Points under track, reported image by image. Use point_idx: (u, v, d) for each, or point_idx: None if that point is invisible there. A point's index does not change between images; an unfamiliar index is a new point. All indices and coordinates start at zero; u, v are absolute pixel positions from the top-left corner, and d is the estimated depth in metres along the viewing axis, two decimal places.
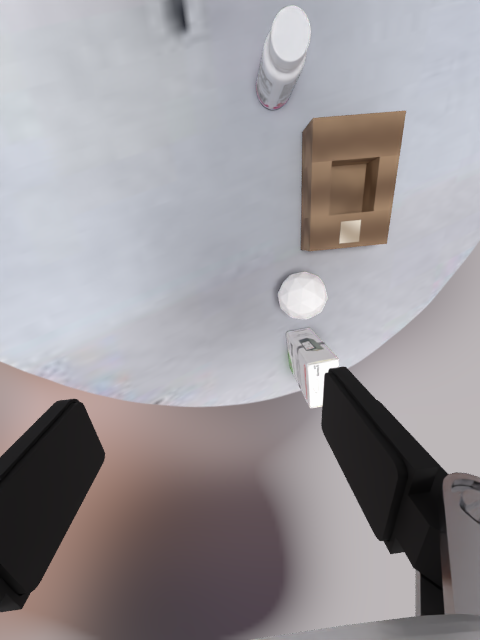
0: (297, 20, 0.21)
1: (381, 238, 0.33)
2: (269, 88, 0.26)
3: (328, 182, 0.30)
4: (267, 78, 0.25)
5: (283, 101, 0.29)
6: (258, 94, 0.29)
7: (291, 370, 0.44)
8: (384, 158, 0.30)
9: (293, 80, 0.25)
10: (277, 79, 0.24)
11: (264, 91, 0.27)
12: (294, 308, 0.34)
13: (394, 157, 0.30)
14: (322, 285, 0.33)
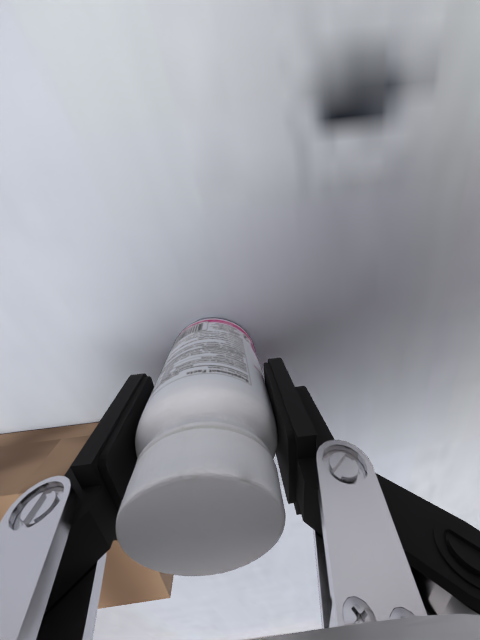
0: (243, 542, 0.05)
1: None
2: (156, 382, 0.09)
3: None
4: (156, 390, 0.07)
5: None
6: (190, 327, 0.11)
7: None
8: None
9: None
10: (136, 433, 0.07)
11: (169, 357, 0.10)
12: None
13: None
14: None
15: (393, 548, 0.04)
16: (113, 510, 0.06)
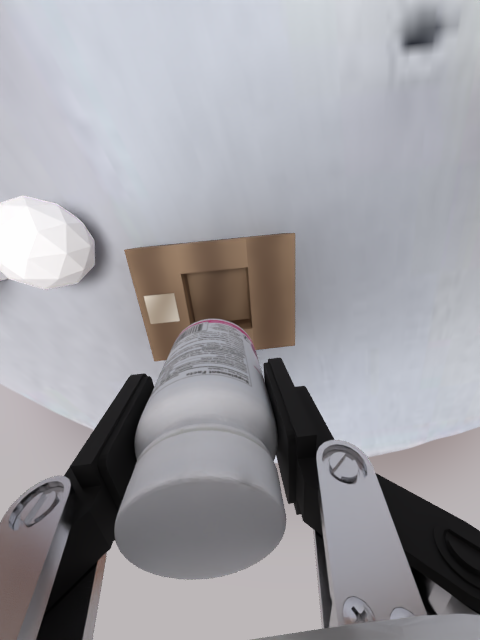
0: (243, 546, 0.05)
1: (159, 353, 0.24)
2: None
3: (222, 266, 0.21)
4: (155, 391, 0.07)
5: None
6: (190, 327, 0.11)
7: None
8: (250, 333, 0.24)
9: None
10: (135, 435, 0.07)
11: (169, 358, 0.09)
12: None
13: None
14: (60, 273, 0.19)
15: (393, 548, 0.04)
16: (113, 510, 0.06)
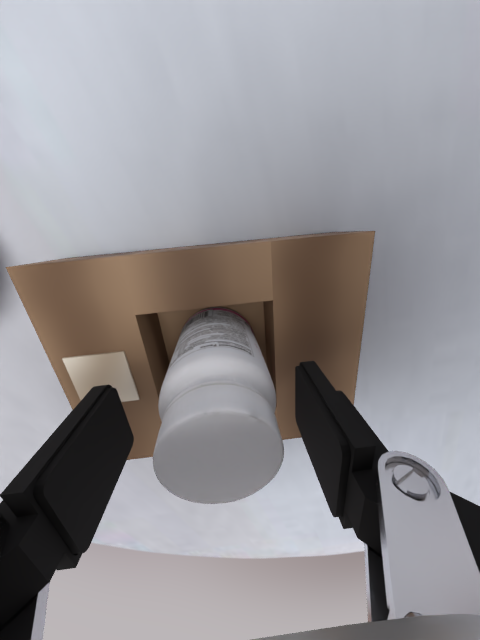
0: (251, 472, 0.07)
1: None
2: (171, 359, 0.10)
3: (221, 299, 0.10)
4: (173, 362, 0.09)
5: None
6: (197, 315, 0.13)
7: None
8: None
9: None
10: (159, 396, 0.08)
11: (181, 339, 0.11)
12: None
13: None
14: None
15: (471, 581, 0.03)
16: (56, 539, 0.06)
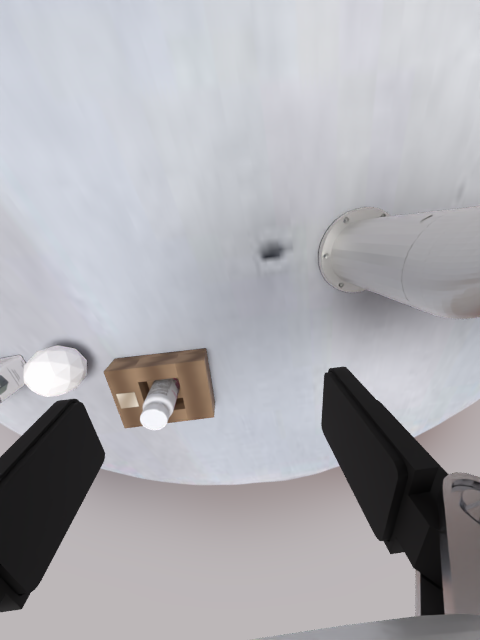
0: (160, 422, 0.33)
1: (127, 423, 0.39)
2: (147, 395, 0.36)
3: (162, 377, 0.36)
4: (146, 397, 0.35)
5: None
6: None
7: None
8: (184, 411, 0.39)
9: None
10: None
11: (151, 388, 0.37)
12: (29, 370, 0.31)
13: (186, 417, 0.39)
14: (66, 390, 0.34)
15: None
16: None
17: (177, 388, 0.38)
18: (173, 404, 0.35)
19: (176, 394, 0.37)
